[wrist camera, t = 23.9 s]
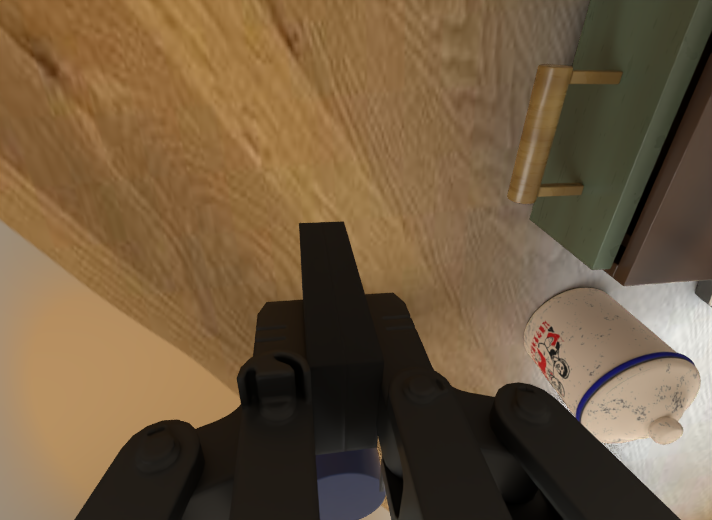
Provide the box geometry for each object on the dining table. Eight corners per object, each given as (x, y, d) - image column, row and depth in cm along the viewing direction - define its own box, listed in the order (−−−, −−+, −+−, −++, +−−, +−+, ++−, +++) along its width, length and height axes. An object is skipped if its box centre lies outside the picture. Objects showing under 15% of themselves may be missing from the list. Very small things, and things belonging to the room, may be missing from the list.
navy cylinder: (351, 359, 34) (383, 518, 23) (291, 364, 34) (294, 532, 23) (352, 312, 32) (389, 467, 21) (287, 317, 31) (289, 481, 20)
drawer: (471, 221, 28) (521, 275, 22) (517, -11, 21) (607, -24, 15) (713, 210, 31) (814, 255, 25) (825, 2, 24) (1001, -3, 18)
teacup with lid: (511, 308, 34) (603, 425, 24) (612, 267, 33) (749, 370, 24) (530, 389, 41) (609, 508, 31) (615, 356, 40) (724, 466, 30)
